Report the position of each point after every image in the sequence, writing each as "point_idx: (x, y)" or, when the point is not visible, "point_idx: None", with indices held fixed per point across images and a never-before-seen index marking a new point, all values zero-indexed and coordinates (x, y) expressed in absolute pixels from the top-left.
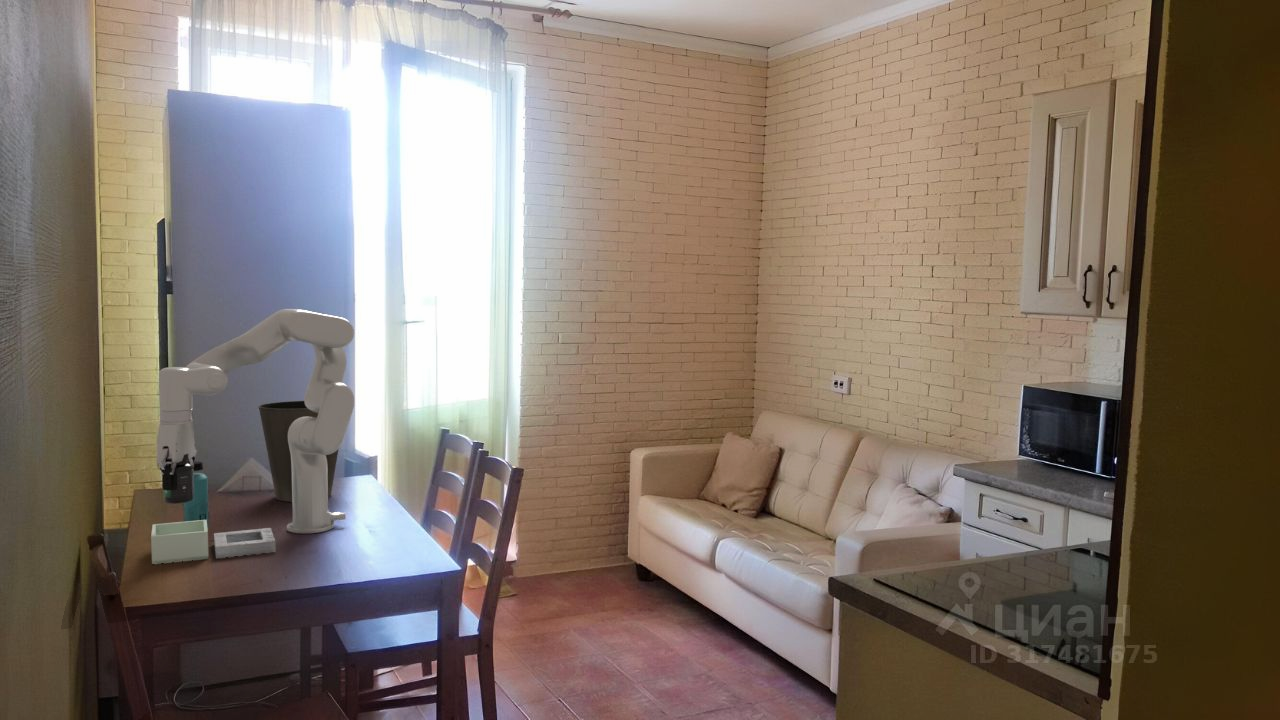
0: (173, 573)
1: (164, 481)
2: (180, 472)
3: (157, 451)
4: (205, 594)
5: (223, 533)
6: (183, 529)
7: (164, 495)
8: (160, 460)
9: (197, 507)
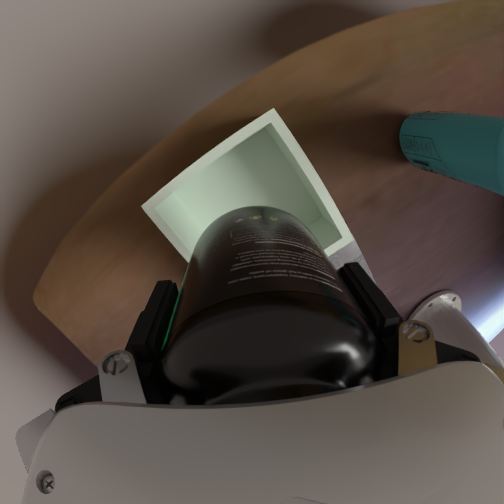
0: (133, 268)
1: (133, 330)
2: None
3: (25, 502)
4: (93, 355)
5: (351, 255)
6: (310, 186)
7: (198, 243)
8: (31, 457)
9: (440, 163)
